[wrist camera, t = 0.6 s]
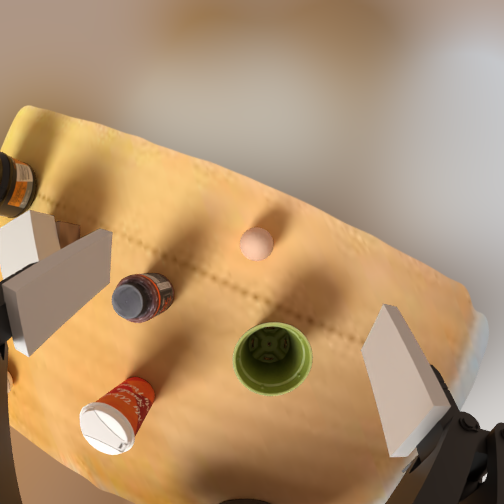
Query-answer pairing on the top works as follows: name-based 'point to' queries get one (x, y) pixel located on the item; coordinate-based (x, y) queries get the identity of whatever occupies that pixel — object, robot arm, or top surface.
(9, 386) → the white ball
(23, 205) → the supplement container
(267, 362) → the plant pot
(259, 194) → the top surface
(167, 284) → the supplement bottle
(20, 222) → the top block
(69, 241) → the bottom block
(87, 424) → the paper cup
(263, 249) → the egg
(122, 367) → the top surface
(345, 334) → the top surface
